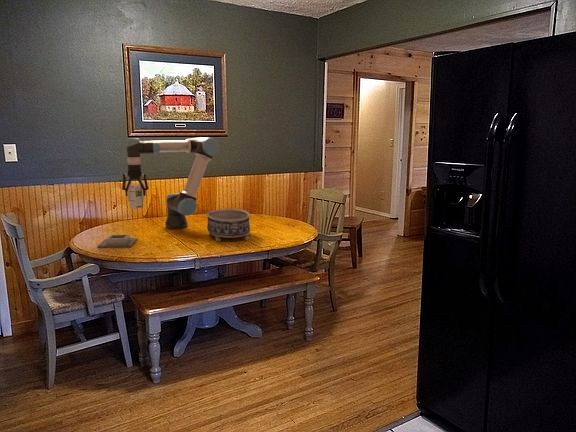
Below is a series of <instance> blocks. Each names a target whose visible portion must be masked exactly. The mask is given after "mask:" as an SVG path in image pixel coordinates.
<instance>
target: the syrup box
mask: <svg viewBox="0 0 576 432" xmlns="http://www.w3.org/2000/svg"><path fill="white" fill-rule="evenodd" d="M128 191H129V209H132V210H139V209H143V208H144V202H142V191H143V189H142V187H141V185H140V183H139V184H137V183H136V184H130V185H129V189H128Z"/></svg>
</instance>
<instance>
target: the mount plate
mask: <svg viewBox="0 0 576 432" xmlns="http://www.w3.org/2000/svg"><path fill="white" fill-rule="evenodd" d="M138 239H139V238H138V237H131V234H125V233H123V234H121V233H120V234H110V235H108V237H106V238H105V239H104V240H103V241H101V242H100V243H99V244H98V245H97V248H98V249H102V248H103V249H107V248H108V249H112V248H113V249H115V248H118V249H119V248H121V249H123V248H132V247H133V246H134V245H135V243H137V241H138Z"/></svg>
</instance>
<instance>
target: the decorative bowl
mask: <svg viewBox="0 0 576 432" xmlns="http://www.w3.org/2000/svg"><path fill="white" fill-rule="evenodd" d="M250 216H251V213H250V212H249V211H247V210H246V209H241V208H240V209H239V208H225V209H215V210H210V211H207V212H206V217H207V227H206V229H207V232H209V234H210V235H213V236H214V237H215V242H221V241H222V238H226V239H228V238H229V239H230V238H232V239H233V238H241V237H242V238H243V240H245V239H249V240H250V237H249V234H250V233H251V226H250V224H251V223H250Z"/></svg>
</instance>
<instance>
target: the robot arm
mask: <svg viewBox="0 0 576 432" xmlns="http://www.w3.org/2000/svg"><path fill="white" fill-rule="evenodd" d="M219 149H220V147H219V143H218V141H217V140H216V139H215V138H213V137H209V136H207V137H205V136H204V137H202V136H200V137H199V136H198V137H193V138H186V139H185V140H183V139H181V140H179V139H178V140H175V139H174V140H140V138H138V137H129V138H127V139H126V153H127V154H126V155H127V156H126V157H127V158H126V159H127V172H126V173H122V177H123V178H122V187H121V189H122V191H125V197H127V203H128V202H129V203H130V201H129V185H132V184H131V183H132V181H133V180H135V181H138V183H139V184H140V185H141V187H142V202H143V203H144V202H145V197H146V196H147V194H146V193H147V192H146V191H148V190H149V189H150V187H149V183H148V179H147V173H142V165H141V163H142V162H141V161H142V159H141V155H156V154H159V153H180V152H181V153H182V152H183V153H184V152H186V153H187V154H194V155H195V159H194V161H193V164H192V167H191V170H190V172H189V175H188V178H187V180H186V183H185V186H184V187H183V189H182V190H181V191H179V193H169V194H168V193H167V196H166V212H167V217H166V220H165V222H164V228H166V229H170V230H179V229H186V228H188V226H189V225H188V220H187V218H186V216H192V215H193V214H194V213H195V212H196V210H197V205H198V204H197V200H198V197H197V193H198V190H199V187H200V184H201V182H202V179H203V177H204V174H205V172H206V170H207V166H208V163H209V162H210V161H212V160H213V157H214V156H215V155H217V154H218V152H219ZM127 177H128V178H129V179H128V181H127ZM141 177H143V181H142V178H141ZM143 182H144V183H143Z"/></svg>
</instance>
